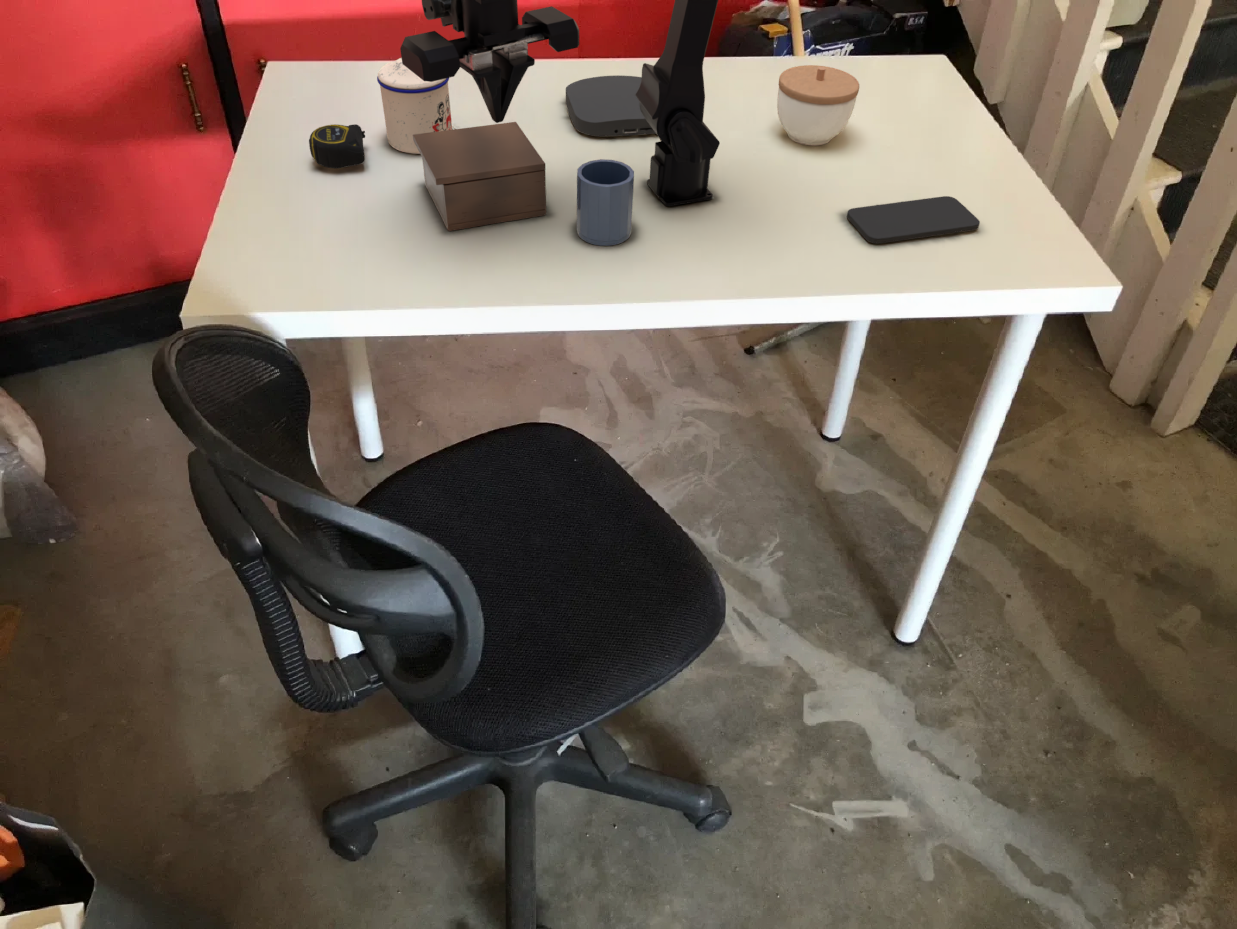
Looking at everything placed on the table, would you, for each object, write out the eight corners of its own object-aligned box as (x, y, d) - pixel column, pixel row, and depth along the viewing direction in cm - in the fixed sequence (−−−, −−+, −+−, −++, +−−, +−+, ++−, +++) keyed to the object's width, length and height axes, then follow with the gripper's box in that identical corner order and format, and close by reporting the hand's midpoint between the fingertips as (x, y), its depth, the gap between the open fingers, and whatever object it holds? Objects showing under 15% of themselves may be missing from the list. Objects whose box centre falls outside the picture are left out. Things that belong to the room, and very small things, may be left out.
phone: (844, 208, 115) (952, 194, 118) (842, 214, 115) (950, 200, 118) (871, 240, 110) (984, 224, 113) (870, 246, 110) (982, 230, 113)
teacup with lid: (449, 157, 122) (440, 67, 114) (379, 154, 122) (366, 64, 114) (462, 117, 131) (455, 31, 123) (397, 114, 131) (386, 28, 123)
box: (448, 231, 109) (443, 185, 105) (425, 185, 117) (420, 141, 113) (546, 215, 113) (545, 170, 109) (518, 171, 120) (516, 127, 116)
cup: (619, 214, 114) (621, 155, 108) (639, 240, 109) (642, 181, 104) (569, 222, 112) (569, 163, 107) (588, 249, 108) (588, 189, 102)
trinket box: (862, 147, 129) (878, 78, 122) (794, 158, 126) (806, 88, 119) (822, 114, 136) (835, 48, 129) (757, 124, 133) (767, 57, 126)
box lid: (436, 185, 105) (435, 178, 104) (413, 140, 113) (412, 134, 112) (545, 169, 109) (545, 163, 108) (516, 127, 116) (516, 121, 116)
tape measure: (367, 172, 119) (362, 144, 116) (311, 175, 118) (305, 147, 115) (367, 148, 124) (363, 120, 121) (314, 150, 123) (308, 122, 120)
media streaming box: (561, 96, 137) (561, 75, 135) (658, 91, 140) (659, 71, 138) (577, 140, 127) (577, 119, 125) (681, 135, 130) (683, 114, 127)
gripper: (526, -65, 102) (532, 78, 113) (367, -38, 95) (390, 113, 106) (581, -36, 96) (582, 112, 107) (416, -5, 88) (434, 152, 99)
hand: (497, 120), depth 105 cm, fingers closed
